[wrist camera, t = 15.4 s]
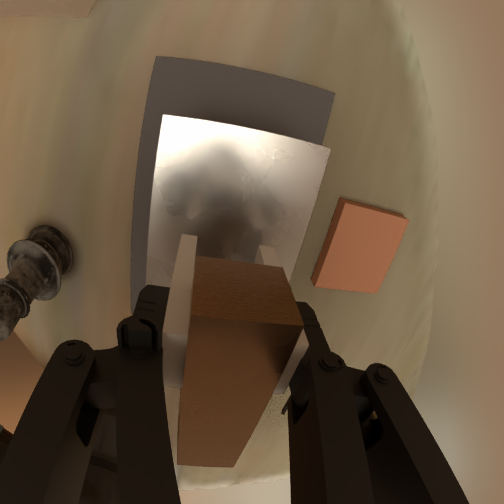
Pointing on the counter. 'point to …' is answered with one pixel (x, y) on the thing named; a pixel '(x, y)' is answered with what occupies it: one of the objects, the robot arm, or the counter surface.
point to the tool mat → (217, 109)
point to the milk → (46, 8)
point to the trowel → (231, 269)
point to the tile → (358, 247)
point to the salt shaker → (32, 274)
